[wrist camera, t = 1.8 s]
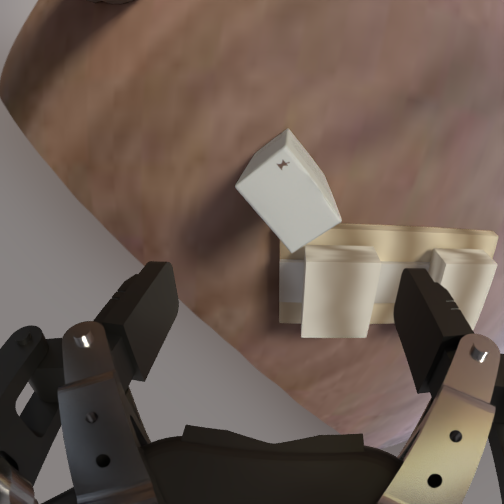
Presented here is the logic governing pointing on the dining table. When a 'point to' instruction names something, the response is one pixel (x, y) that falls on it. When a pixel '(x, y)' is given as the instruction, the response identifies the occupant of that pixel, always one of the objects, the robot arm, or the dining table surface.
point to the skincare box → (289, 192)
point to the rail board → (379, 275)
